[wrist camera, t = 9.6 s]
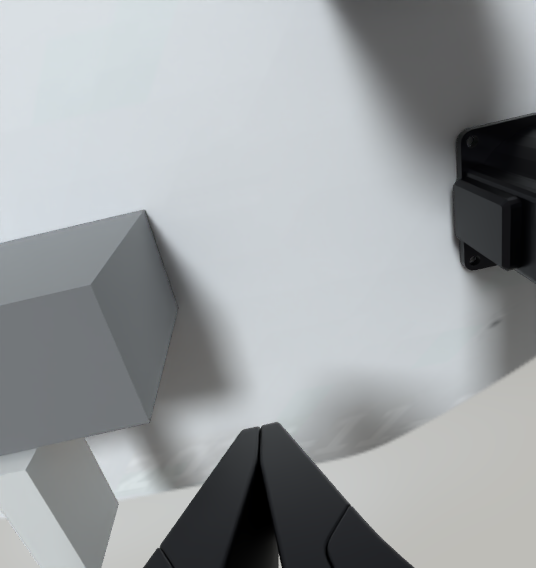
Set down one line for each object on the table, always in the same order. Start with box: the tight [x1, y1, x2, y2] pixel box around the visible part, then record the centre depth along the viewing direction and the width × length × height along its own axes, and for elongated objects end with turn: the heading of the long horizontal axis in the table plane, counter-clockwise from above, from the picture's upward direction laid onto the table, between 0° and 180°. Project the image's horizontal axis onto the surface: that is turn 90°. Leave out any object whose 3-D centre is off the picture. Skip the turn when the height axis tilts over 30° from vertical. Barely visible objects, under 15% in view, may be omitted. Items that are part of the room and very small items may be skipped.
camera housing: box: [0, 210, 178, 456], centre depth 17 cm, size 9×5×8 cm, turn 103°
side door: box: [0, 438, 119, 568], centre depth 18 cm, size 6×6×7 cm
